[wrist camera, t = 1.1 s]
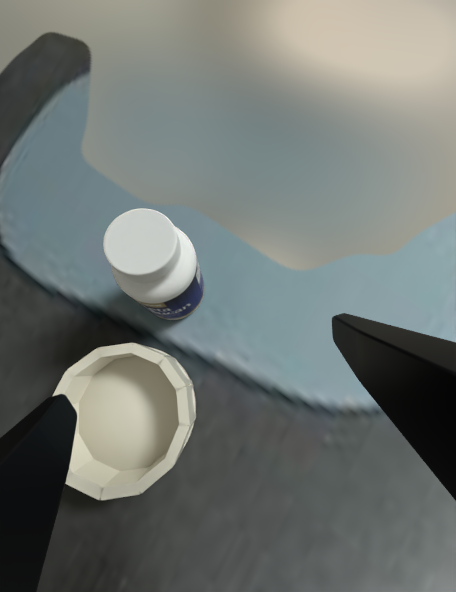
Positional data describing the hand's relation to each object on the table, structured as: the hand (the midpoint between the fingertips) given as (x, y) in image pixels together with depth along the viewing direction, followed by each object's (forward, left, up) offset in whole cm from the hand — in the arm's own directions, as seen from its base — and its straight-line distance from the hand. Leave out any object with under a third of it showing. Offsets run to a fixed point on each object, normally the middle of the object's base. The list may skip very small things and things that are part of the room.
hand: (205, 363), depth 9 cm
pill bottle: (+1, +8, -14) cm, 16 cm away
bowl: (-7, +2, -14) cm, 16 cm away
